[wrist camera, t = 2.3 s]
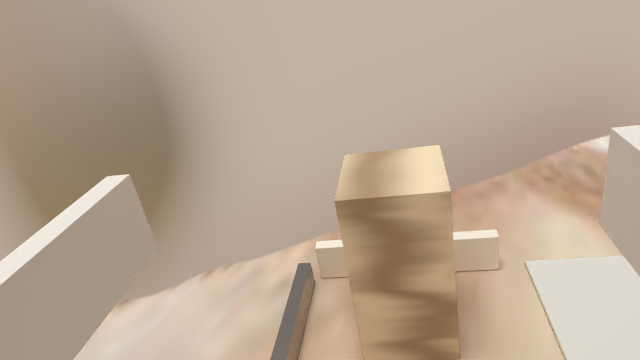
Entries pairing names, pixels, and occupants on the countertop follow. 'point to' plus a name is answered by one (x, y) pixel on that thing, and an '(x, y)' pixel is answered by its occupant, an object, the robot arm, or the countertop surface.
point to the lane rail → (468, 253)
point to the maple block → (400, 253)
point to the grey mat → (591, 305)
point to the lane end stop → (295, 315)
